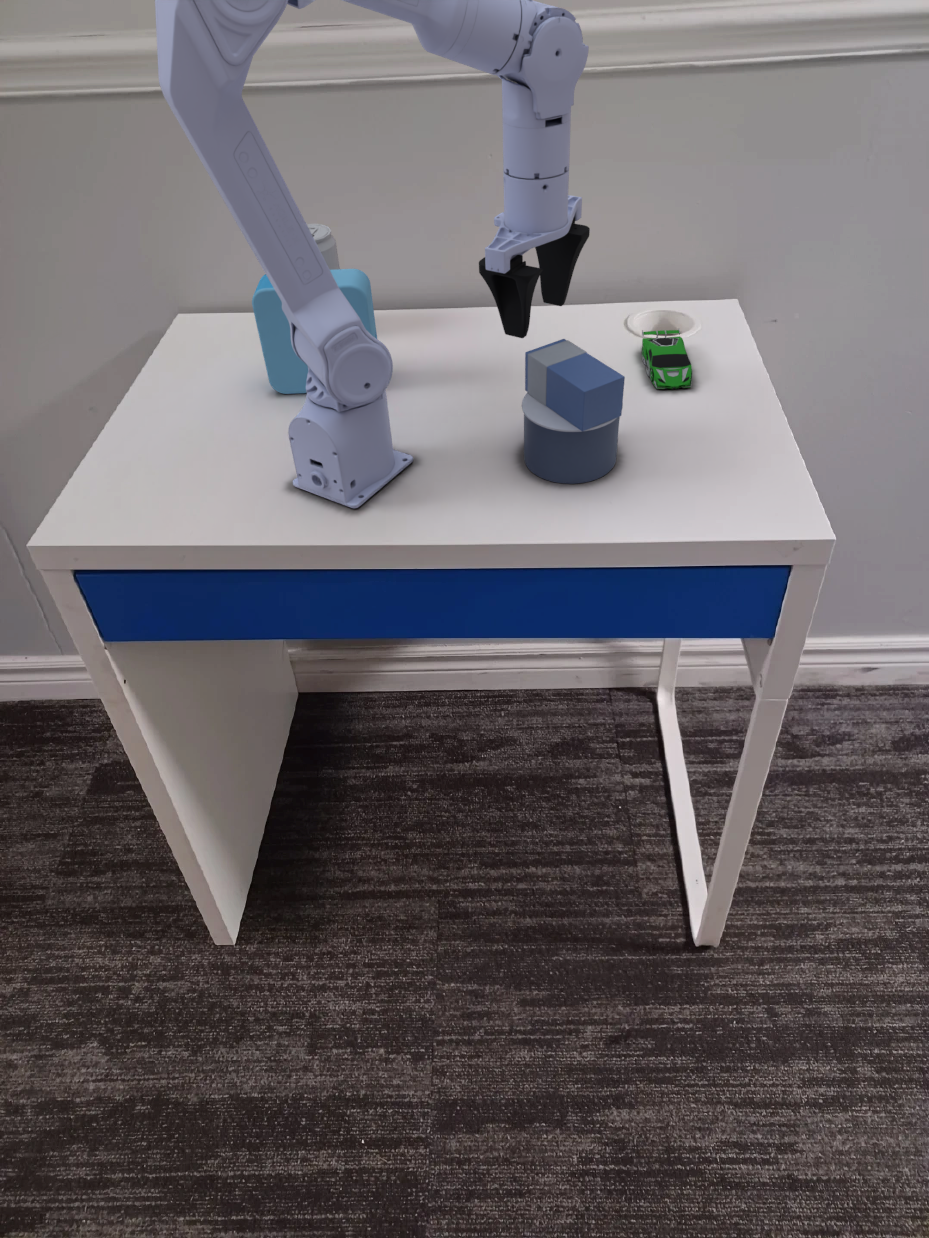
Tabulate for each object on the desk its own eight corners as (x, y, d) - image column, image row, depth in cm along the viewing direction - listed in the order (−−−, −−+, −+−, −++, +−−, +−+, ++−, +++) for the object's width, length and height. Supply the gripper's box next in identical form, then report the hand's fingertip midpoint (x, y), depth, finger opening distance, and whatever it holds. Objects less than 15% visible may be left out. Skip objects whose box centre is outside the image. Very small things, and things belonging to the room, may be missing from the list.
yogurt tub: (590, 496, 82) (593, 440, 78) (504, 468, 86) (502, 413, 82) (634, 447, 88) (639, 393, 84) (551, 423, 92) (552, 370, 88)
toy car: (696, 389, 95) (699, 370, 94) (652, 391, 96) (654, 372, 94) (679, 346, 103) (681, 327, 101) (638, 348, 103) (639, 329, 101)
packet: (581, 432, 79) (584, 391, 77) (524, 391, 85) (524, 351, 82) (622, 416, 81) (625, 375, 78) (563, 377, 87) (564, 337, 84)
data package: (381, 371, 102) (368, 267, 94) (378, 391, 98) (364, 285, 90) (278, 375, 102) (256, 272, 94) (271, 395, 99) (248, 290, 91)
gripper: (536, 140, 83) (535, 283, 92) (452, 189, 74) (460, 341, 84) (605, 149, 80) (597, 295, 89) (525, 201, 71) (525, 357, 81)
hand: (535, 318), depth 86 cm, fingers open, 7 cm apart
